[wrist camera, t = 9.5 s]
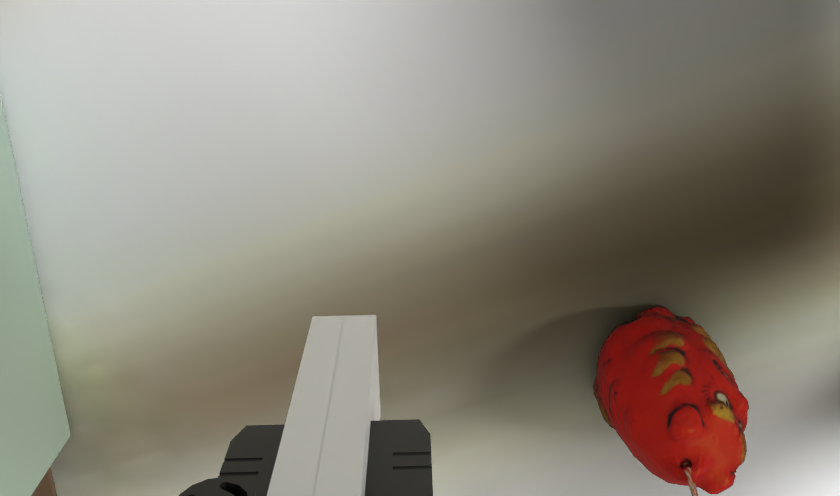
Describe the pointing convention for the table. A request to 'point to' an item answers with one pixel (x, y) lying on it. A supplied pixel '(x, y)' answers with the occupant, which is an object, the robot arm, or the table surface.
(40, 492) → the gate posts
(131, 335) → the table surface
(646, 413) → the red clay folk toy
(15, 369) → the pale green flat panel
